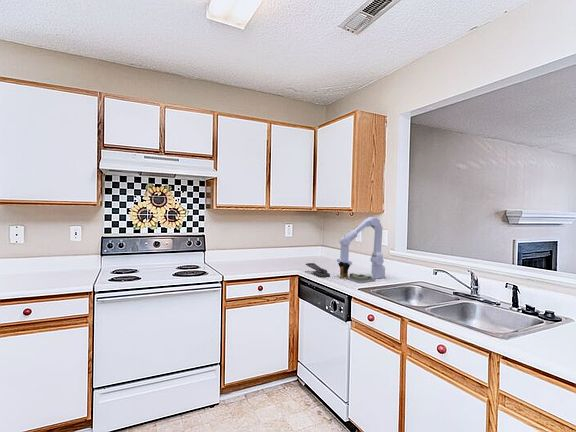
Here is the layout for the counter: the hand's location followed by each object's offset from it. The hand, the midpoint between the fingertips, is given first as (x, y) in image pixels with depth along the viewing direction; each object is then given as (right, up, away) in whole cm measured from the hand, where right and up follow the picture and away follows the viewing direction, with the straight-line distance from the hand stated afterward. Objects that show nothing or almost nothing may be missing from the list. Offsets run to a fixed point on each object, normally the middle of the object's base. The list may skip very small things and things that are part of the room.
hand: (344, 273), depth 237 cm
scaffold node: (+10, -4, -7) cm, 12 cm away
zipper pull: (-18, -3, +10) cm, 21 cm away
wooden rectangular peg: (0, -3, 0) cm, 3 cm away
